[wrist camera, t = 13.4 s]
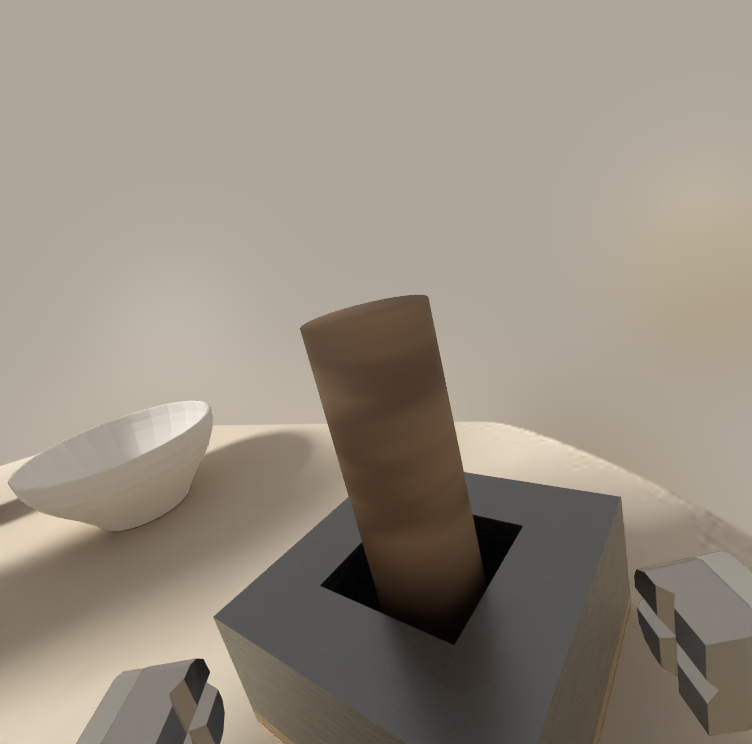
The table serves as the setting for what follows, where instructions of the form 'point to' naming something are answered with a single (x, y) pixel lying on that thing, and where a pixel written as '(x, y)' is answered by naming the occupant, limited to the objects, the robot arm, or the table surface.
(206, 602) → the table surface
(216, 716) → the robot arm
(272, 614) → the socket block
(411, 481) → the walnut pin
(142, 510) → the bowl
